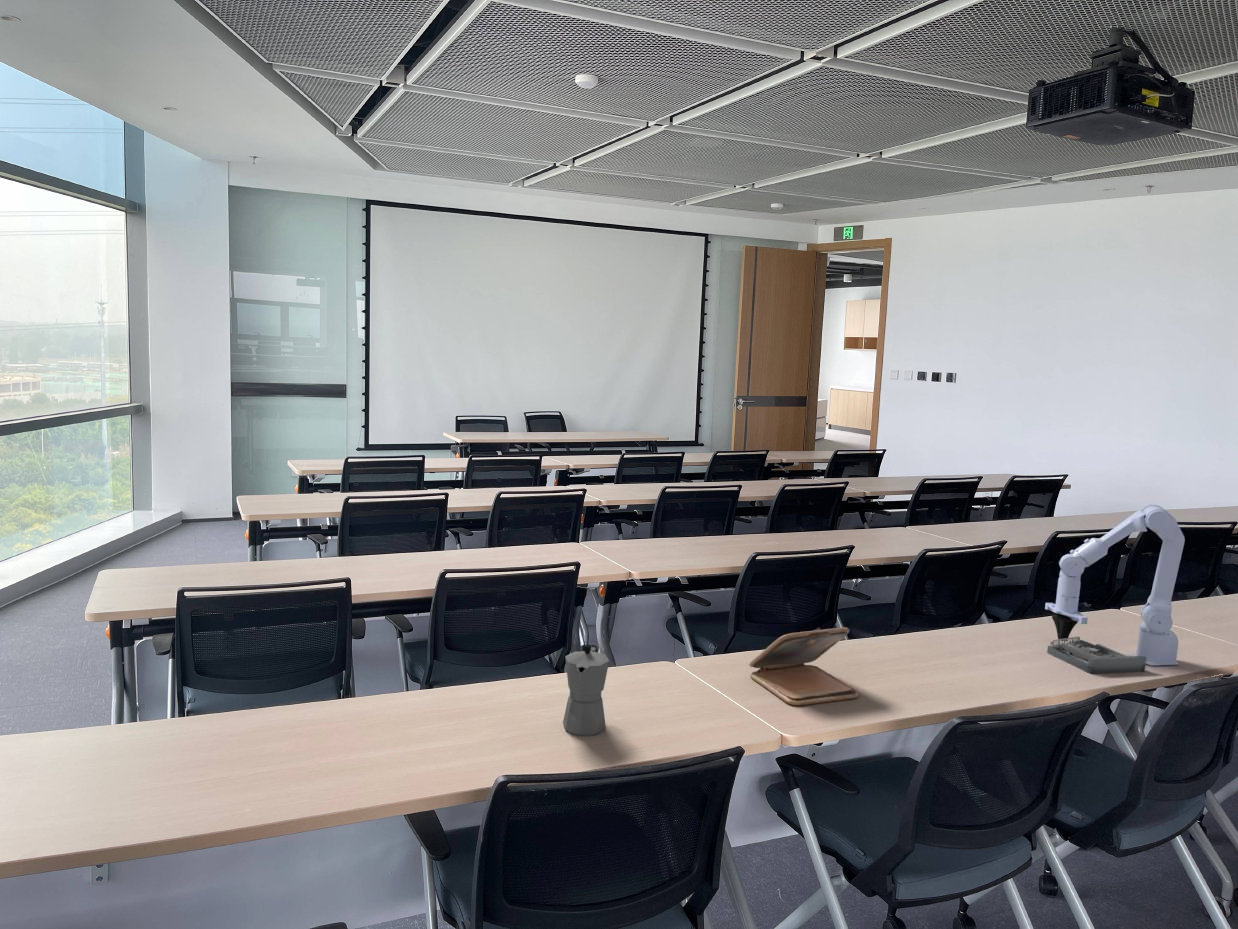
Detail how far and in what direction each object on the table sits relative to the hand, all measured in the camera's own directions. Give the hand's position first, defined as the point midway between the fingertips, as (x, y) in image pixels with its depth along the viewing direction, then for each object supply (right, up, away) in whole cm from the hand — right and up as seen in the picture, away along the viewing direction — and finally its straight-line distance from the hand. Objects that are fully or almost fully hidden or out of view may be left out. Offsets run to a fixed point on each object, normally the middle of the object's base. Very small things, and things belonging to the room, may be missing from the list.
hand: (1062, 640), depth 243 cm
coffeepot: (-138, -4, -67) cm, 153 cm away
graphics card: (+2, -4, -8) cm, 10 cm away
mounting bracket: (+3, -4, -13) cm, 14 cm away
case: (-85, -3, -40) cm, 94 cm away
